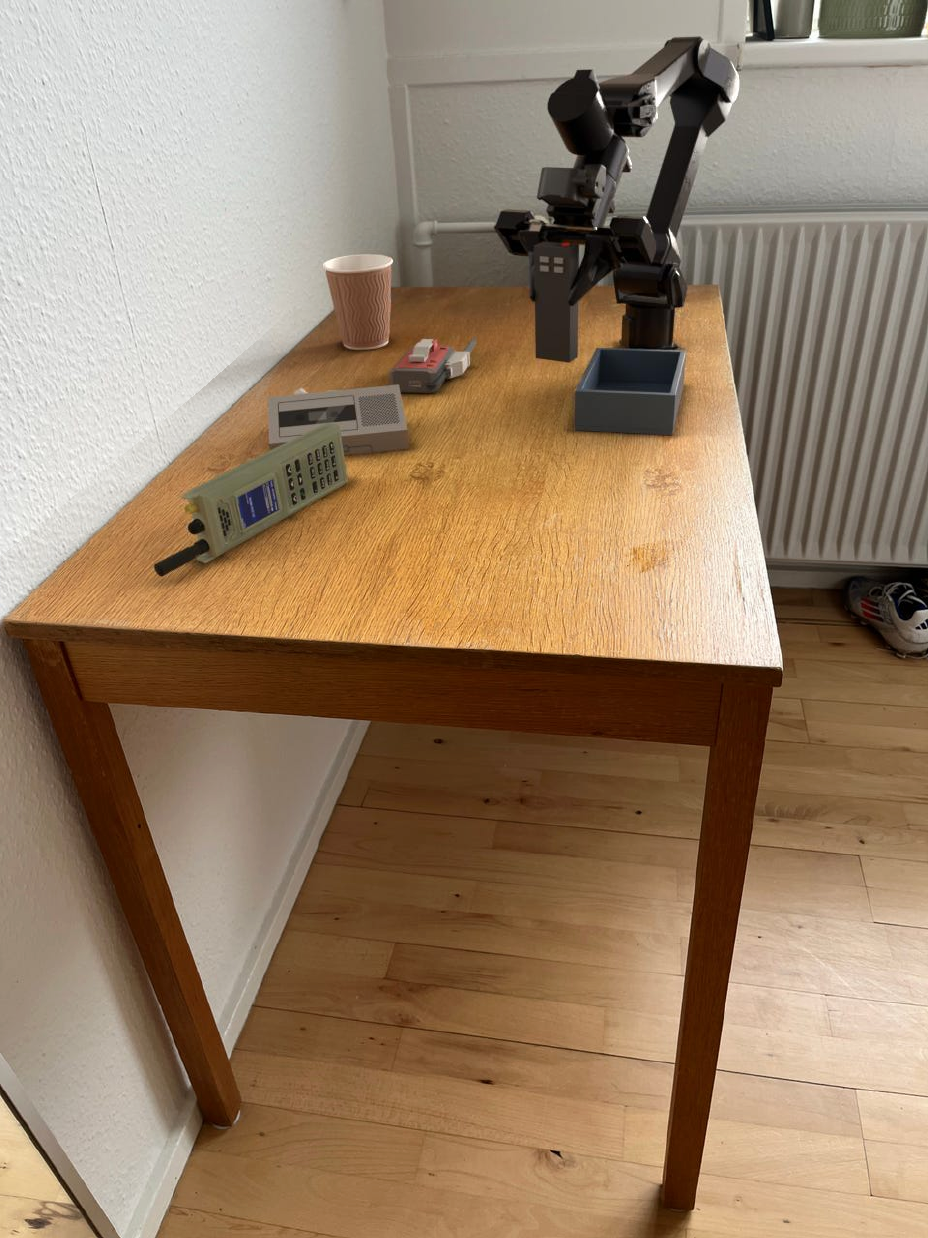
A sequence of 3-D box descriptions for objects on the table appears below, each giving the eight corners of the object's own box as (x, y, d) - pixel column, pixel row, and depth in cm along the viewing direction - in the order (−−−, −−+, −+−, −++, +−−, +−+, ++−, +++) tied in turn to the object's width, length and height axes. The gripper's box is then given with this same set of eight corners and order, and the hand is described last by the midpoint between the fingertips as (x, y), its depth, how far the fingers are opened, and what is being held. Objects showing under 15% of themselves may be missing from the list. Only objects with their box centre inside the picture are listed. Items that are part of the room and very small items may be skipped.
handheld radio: (353, 484, 103) (173, 587, 86) (331, 479, 104) (150, 579, 88) (344, 425, 99) (155, 520, 82) (321, 421, 101) (130, 513, 84)
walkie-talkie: (450, 397, 124) (481, 350, 140) (448, 364, 121) (480, 320, 138) (385, 396, 126) (424, 349, 142) (382, 363, 123) (421, 319, 140)
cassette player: (268, 443, 107) (267, 392, 113) (272, 462, 109) (271, 411, 115) (407, 429, 108) (398, 379, 115) (408, 448, 110) (399, 398, 117)
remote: (543, 352, 117) (542, 239, 110) (577, 357, 115) (579, 241, 107) (534, 358, 115) (533, 243, 108) (569, 363, 113) (569, 246, 106)
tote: (595, 383, 126) (596, 347, 123) (683, 387, 123) (686, 350, 120) (574, 430, 112) (574, 390, 110) (672, 435, 110) (675, 395, 107)
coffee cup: (412, 338, 147) (406, 256, 141) (372, 357, 140) (363, 272, 133) (360, 330, 152) (351, 251, 145) (318, 348, 145) (307, 266, 138)
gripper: (498, 133, 109) (453, 255, 107) (652, 135, 101) (606, 268, 99) (532, 195, 119) (491, 308, 117) (674, 202, 110) (632, 323, 109)
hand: (551, 301), depth 110 cm, fingers closed on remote, 4 cm apart
